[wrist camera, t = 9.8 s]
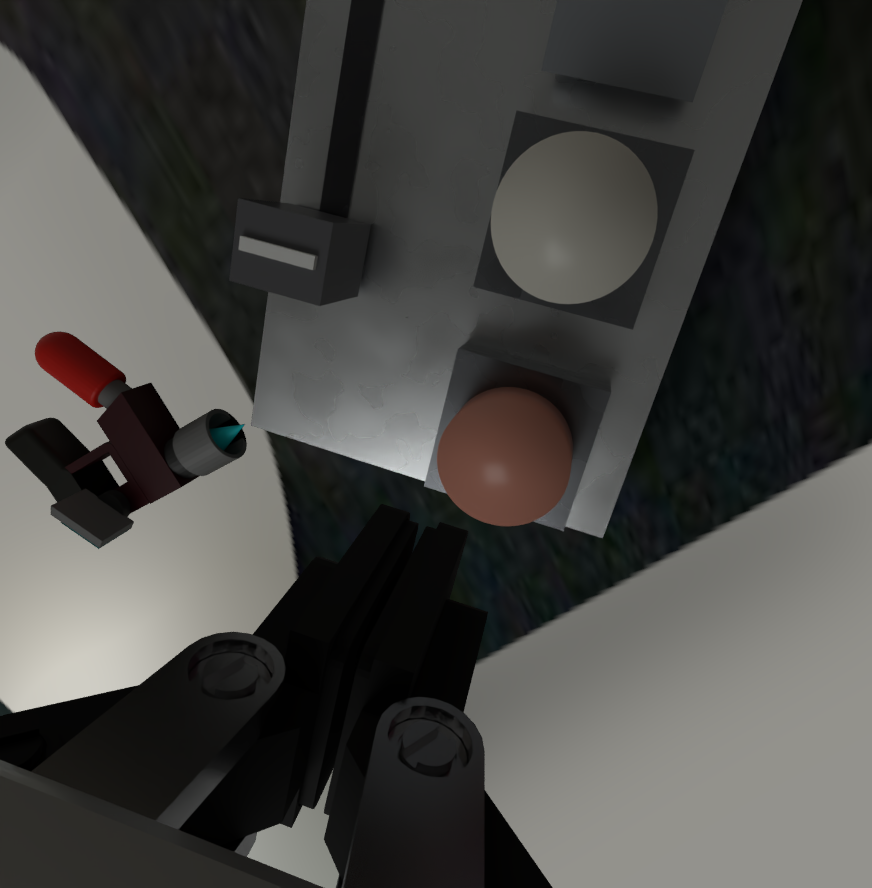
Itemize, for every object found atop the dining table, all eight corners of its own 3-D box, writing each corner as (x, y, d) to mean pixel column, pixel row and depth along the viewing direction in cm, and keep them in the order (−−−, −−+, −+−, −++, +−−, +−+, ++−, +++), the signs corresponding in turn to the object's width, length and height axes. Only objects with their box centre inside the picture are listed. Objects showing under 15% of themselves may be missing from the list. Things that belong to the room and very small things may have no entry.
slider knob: (278, 274, 22) (225, 280, 19) (288, 203, 21) (234, 197, 18) (358, 296, 22) (317, 307, 19) (371, 224, 21) (330, 222, 18)
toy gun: (277, 447, 30) (220, 484, 26) (109, 536, 34) (35, 581, 30) (165, 260, 28) (84, 265, 24) (3, 378, 33) (-91, 401, 28)
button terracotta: (447, 467, 23) (424, 502, 20) (475, 361, 22) (454, 382, 18) (555, 501, 22) (548, 543, 19) (590, 395, 21) (588, 421, 18)
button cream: (493, 274, 20) (473, 281, 17) (529, 134, 18) (514, 114, 15) (621, 308, 19) (625, 322, 16) (669, 165, 18) (683, 151, 15)
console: (296, 400, 29) (230, 436, 24) (394, -228, 21) (327, -378, 16) (602, 495, 26) (602, 557, 21) (841, -164, 19) (930, -313, 14)
